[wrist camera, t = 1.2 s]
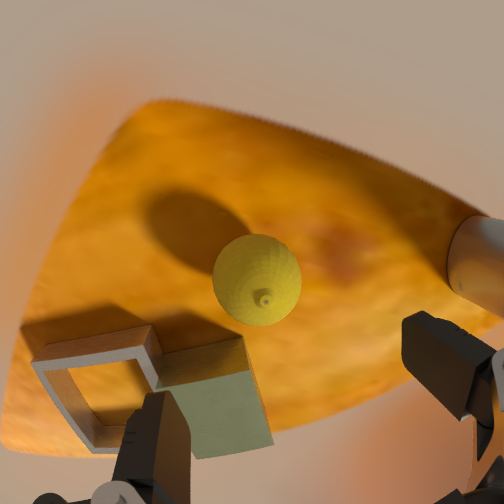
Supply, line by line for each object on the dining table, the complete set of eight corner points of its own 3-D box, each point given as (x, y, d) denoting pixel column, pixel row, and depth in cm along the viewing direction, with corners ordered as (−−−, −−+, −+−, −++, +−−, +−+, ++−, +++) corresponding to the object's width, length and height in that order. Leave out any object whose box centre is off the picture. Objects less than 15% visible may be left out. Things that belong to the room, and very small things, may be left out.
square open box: (233, 304, 23) (238, 334, 18) (265, 409, 26) (274, 444, 21) (46, 344, 22) (22, 371, 17) (99, 432, 25) (88, 463, 20)
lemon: (197, 258, 22) (189, 296, 14) (255, 211, 22) (276, 225, 14) (244, 309, 23) (257, 365, 16) (298, 266, 23) (336, 304, 15)
